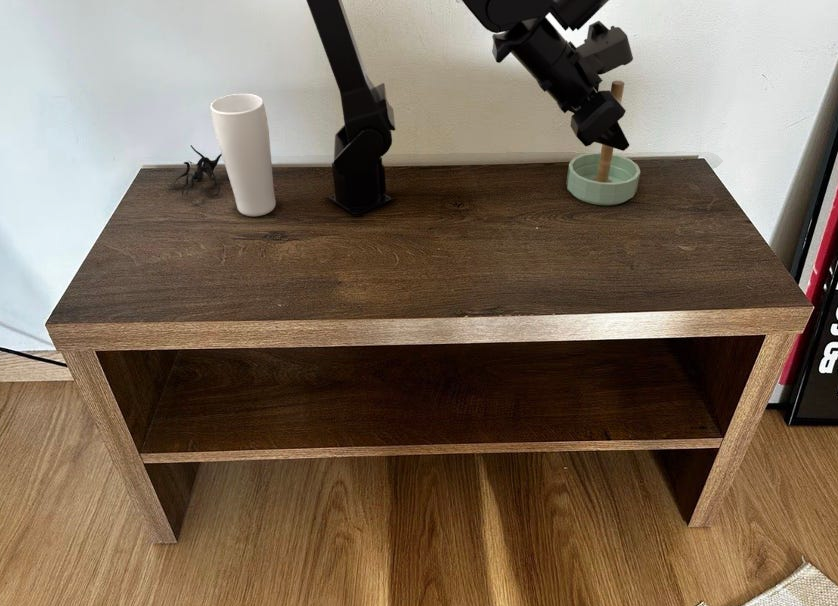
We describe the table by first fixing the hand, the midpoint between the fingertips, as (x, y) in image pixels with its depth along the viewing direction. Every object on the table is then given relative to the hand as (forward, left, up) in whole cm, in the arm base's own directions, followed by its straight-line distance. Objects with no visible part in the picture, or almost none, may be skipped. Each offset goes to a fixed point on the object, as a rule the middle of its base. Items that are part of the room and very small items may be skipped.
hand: (619, 137), depth 96 cm
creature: (-44, +40, -8) cm, 60 cm away
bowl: (-1, +1, -8) cm, 8 cm away
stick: (-1, +1, -7) cm, 8 cm away
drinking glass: (-41, +29, -8) cm, 51 cm away
